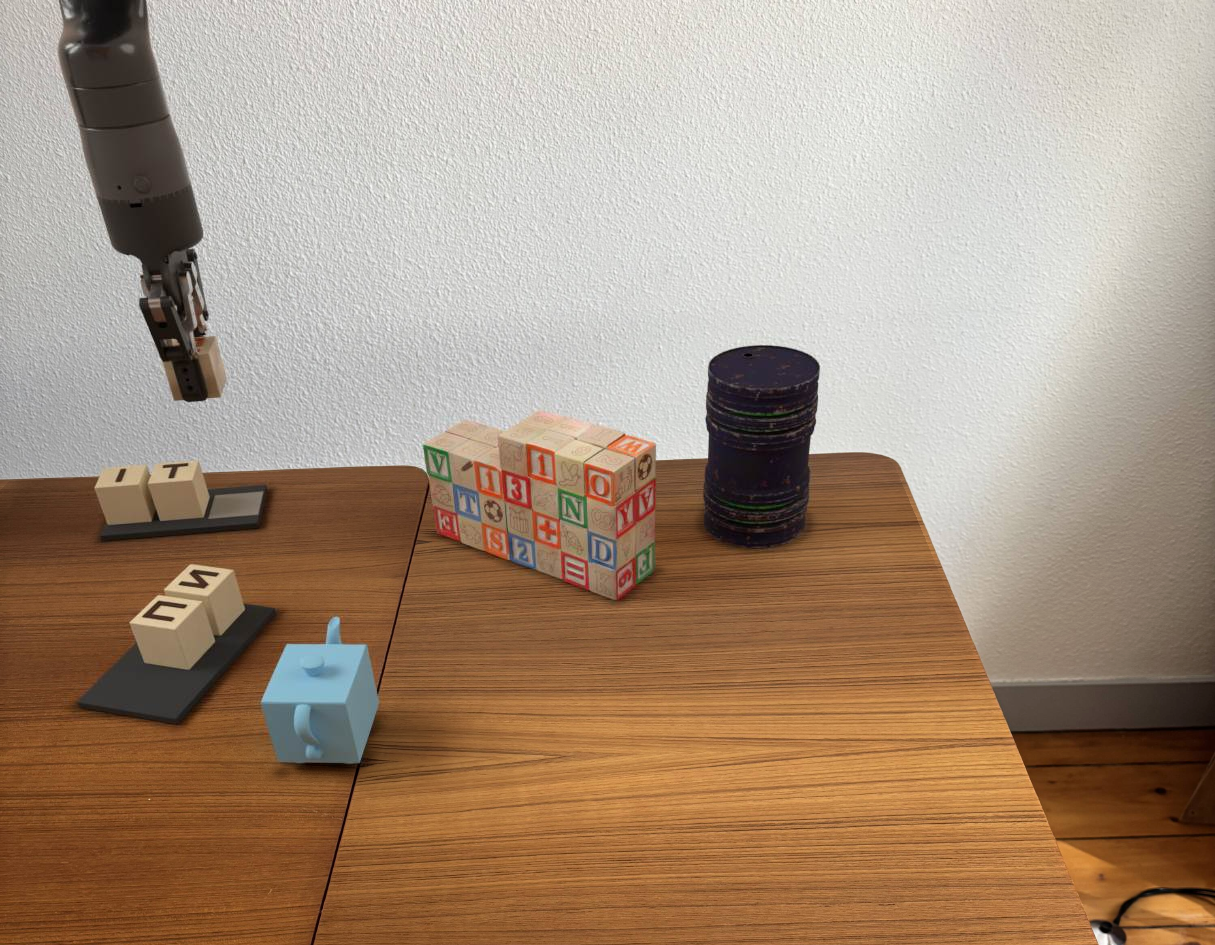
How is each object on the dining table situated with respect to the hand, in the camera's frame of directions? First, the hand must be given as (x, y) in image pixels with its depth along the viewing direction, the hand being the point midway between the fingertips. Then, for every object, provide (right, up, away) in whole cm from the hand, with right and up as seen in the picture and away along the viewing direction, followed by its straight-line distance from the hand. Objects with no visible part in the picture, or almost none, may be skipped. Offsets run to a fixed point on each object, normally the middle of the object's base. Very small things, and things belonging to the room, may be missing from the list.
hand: (200, 388), depth 104 cm
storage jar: (+51, -11, +5) cm, 53 cm away
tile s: (0, 0, 0) cm, 0 cm away
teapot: (+17, -33, -17) cm, 41 cm away
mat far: (-5, -9, +9) cm, 14 cm away
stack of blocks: (+31, -15, +2) cm, 35 cm away
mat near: (+2, -26, -9) cm, 28 cm away
